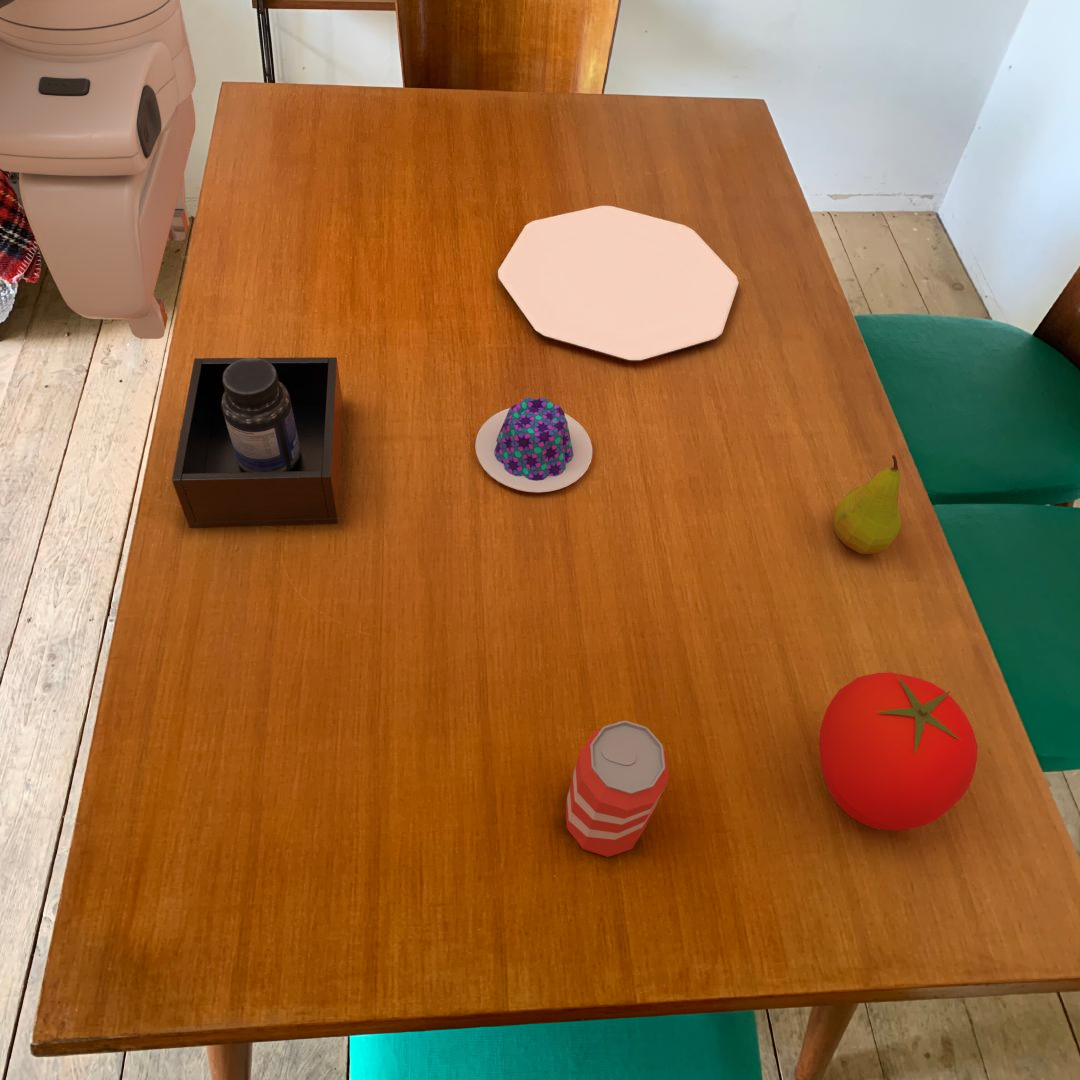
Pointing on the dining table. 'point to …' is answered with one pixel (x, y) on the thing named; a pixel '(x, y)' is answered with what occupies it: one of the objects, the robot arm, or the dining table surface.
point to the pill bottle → (259, 417)
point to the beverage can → (615, 787)
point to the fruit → (870, 513)
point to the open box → (261, 497)
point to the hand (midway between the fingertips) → (164, 280)
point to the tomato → (896, 751)
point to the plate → (618, 283)
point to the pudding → (534, 447)
